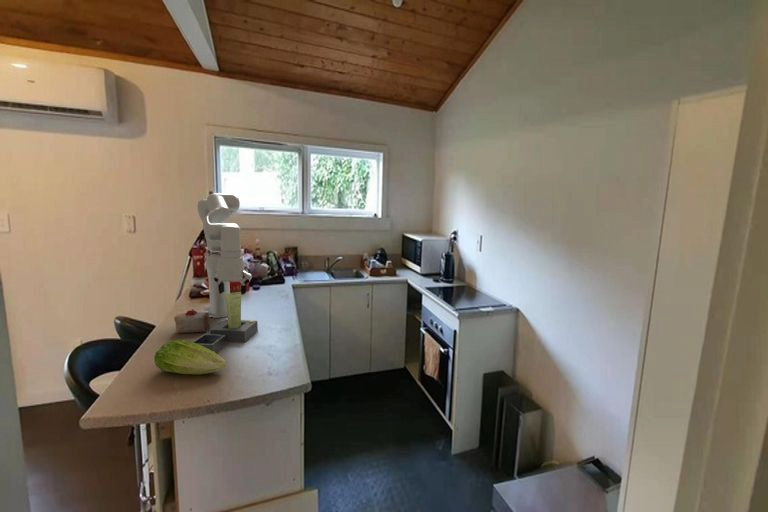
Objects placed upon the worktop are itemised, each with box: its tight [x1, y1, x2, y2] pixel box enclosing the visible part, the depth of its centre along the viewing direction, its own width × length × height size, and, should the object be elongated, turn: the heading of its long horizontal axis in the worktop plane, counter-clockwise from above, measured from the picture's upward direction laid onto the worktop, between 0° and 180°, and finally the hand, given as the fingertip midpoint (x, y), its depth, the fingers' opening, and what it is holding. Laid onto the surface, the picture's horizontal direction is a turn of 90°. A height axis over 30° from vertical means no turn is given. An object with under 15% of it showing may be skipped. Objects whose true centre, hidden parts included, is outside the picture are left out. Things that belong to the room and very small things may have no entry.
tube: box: [225, 291, 242, 329], centre depth 155 cm, size 6×5×20 cm
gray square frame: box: [191, 333, 228, 354], centre depth 142 cm, size 10×11×4 cm
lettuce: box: [154, 339, 227, 375], centre depth 123 cm, size 12×24×13 cm
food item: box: [173, 308, 210, 334], centre depth 160 cm, size 14×8×10 cm, turn 101°
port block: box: [209, 319, 259, 344], centre depth 156 cm, size 15×13×5 cm
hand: (232, 293), depth 154 cm, fingers open, 9 cm apart
